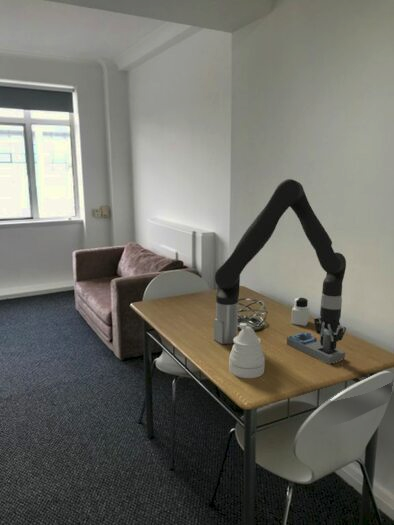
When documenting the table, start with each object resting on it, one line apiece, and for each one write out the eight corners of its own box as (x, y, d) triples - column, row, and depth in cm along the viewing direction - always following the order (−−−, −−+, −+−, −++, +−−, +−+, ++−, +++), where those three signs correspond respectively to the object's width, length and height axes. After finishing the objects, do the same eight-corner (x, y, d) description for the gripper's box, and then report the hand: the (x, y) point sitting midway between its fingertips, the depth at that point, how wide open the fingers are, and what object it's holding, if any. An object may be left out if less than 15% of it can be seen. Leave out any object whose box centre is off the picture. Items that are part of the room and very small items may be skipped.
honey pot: (239, 380, 147) (240, 332, 143) (223, 365, 159) (223, 320, 155) (271, 373, 152) (273, 326, 148) (252, 359, 164) (254, 315, 160)
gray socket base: (344, 359, 164) (345, 347, 163) (329, 364, 159) (330, 352, 158) (301, 339, 182) (302, 328, 181) (286, 344, 178) (287, 332, 177)
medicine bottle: (308, 321, 204) (310, 297, 202) (305, 326, 198) (307, 301, 195) (293, 319, 207) (295, 295, 205) (290, 323, 201) (291, 299, 198)
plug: (327, 360, 163) (329, 331, 160) (319, 356, 166) (321, 327, 163) (334, 358, 165) (337, 329, 162) (326, 354, 168) (328, 325, 165)
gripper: (309, 302, 165) (307, 343, 168) (339, 312, 153) (336, 356, 157) (323, 299, 169) (320, 339, 172) (353, 308, 157) (349, 351, 161)
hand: (328, 347), depth 164 cm, fingers closed on plug, 4 cm apart
